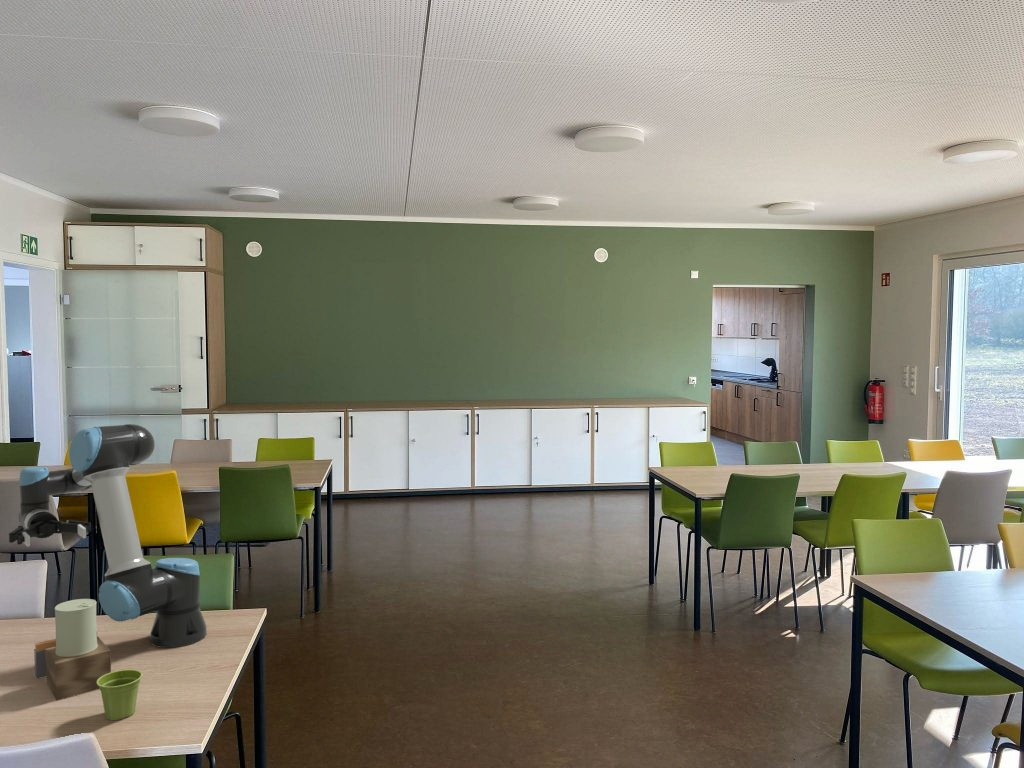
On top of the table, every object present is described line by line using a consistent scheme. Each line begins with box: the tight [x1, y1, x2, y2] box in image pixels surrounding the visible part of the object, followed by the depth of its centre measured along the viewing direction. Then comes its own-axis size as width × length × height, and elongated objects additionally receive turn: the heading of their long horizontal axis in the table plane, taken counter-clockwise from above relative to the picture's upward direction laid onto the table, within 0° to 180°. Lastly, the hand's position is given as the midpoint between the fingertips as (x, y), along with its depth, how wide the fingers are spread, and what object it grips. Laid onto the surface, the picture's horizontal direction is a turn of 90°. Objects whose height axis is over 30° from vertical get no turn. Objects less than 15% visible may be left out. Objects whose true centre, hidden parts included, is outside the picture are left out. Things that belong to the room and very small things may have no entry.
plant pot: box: [97, 668, 143, 721], centre depth 174 cm, size 9×9×9 cm
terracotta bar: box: [34, 638, 56, 651], centre depth 198 cm, size 14×2×2 cm, turn 132°
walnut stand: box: [45, 636, 112, 701], centre depth 189 cm, size 12×12×9 cm
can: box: [54, 598, 98, 657], centre depth 188 cm, size 9×9×12 cm
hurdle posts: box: [33, 635, 99, 679], centre depth 198 cm, size 14×2×7 cm, turn 132°
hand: (57, 537), depth 209 cm, fingers open, 13 cm apart
